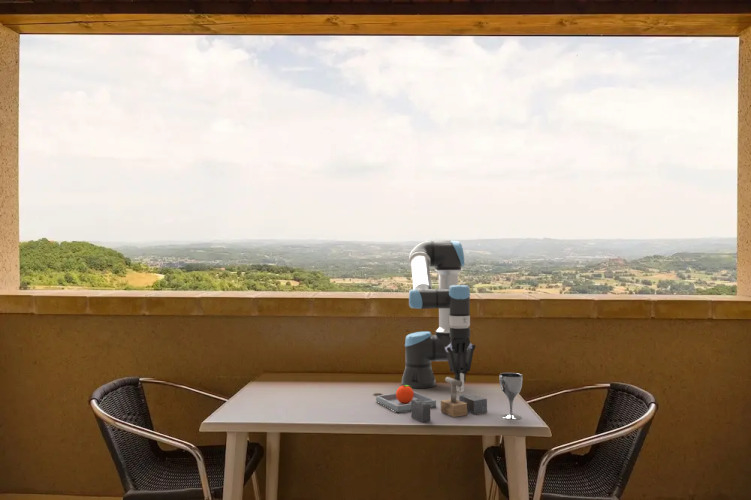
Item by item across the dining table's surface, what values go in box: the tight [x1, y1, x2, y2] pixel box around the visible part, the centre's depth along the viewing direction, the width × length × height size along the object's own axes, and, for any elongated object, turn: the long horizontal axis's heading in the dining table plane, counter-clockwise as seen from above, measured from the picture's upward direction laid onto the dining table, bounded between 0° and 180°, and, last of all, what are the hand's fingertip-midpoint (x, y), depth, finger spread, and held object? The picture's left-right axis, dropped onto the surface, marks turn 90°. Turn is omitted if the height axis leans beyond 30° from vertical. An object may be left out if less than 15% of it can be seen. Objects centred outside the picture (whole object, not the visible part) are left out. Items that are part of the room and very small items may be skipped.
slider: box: [440, 376, 468, 418], centre depth 199 cm, size 8×6×12 cm
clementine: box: [395, 385, 414, 404], centre depth 212 cm, size 8×7×7 cm
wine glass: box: [498, 372, 523, 421], centre depth 195 cm, size 8×8×15 cm
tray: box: [375, 390, 437, 413], centre depth 212 cm, size 17×17×2 cm
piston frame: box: [410, 392, 488, 424], centre depth 198 cm, size 9×28×6 cm, turn 117°
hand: (460, 390), depth 200 cm, fingers closed
